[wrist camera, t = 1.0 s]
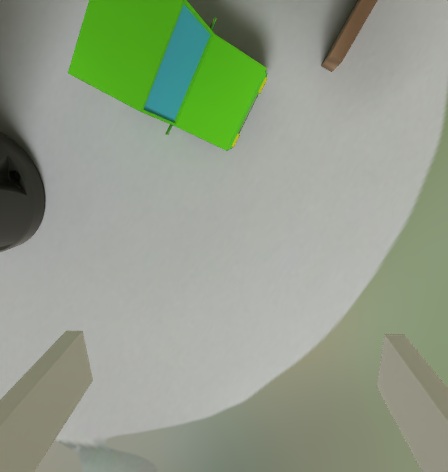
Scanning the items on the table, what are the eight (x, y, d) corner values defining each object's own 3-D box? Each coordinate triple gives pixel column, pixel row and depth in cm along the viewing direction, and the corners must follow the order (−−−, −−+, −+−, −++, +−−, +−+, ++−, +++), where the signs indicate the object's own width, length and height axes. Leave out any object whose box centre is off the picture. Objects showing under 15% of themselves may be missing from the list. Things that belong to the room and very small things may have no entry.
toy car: (228, 162, 33) (217, 167, 23) (120, 104, 32) (63, 86, 23) (274, 69, 30) (283, 32, 20) (156, 4, 29) (108, -66, 20)
